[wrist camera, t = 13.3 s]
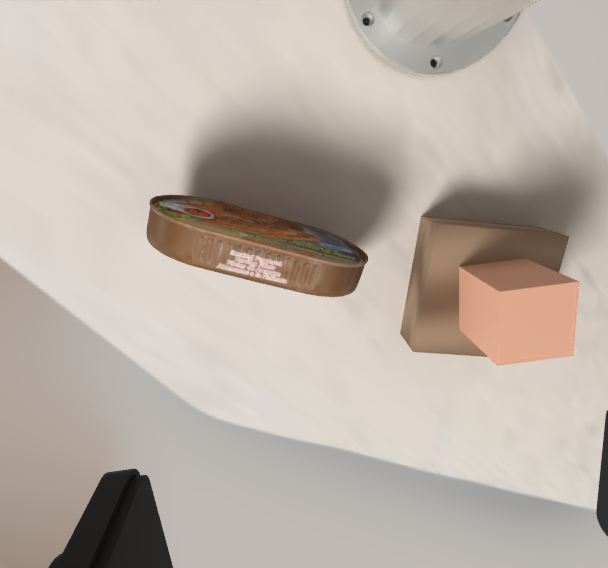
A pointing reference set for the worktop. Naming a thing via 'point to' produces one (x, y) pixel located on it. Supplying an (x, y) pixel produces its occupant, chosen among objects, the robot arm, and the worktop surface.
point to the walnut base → (445, 275)
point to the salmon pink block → (518, 310)
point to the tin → (254, 246)
